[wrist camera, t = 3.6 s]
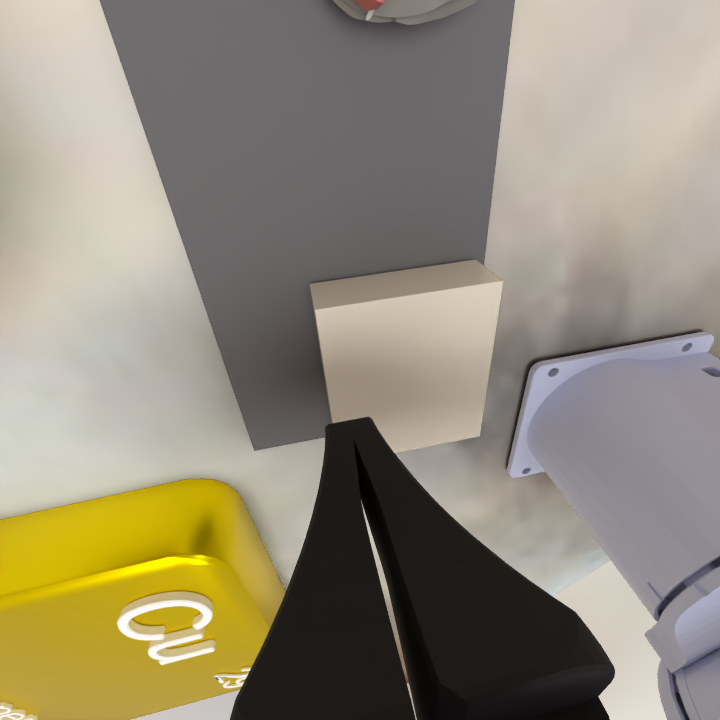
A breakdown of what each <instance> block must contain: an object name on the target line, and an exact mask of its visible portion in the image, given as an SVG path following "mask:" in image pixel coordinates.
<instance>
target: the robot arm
mask: <svg viewBox="0 0 720 720" xmlns="http://www.w3.org/2000/svg"><path fill="white" fill-rule="evenodd" d="M713 342H714V336H713V335H712V334H710V333H708V332H698V333H693V334H687V335H682V336H676V337H671V338H665V339H660V340H655V341H649V342H644V343H638V344H633V345H627V346H622V347H616V348H611V349H605V350H600V351H594V352H589V353H583V354H578V355H573V356H567V357H562V358H556V359H551V360H545V361H540V362H537V363H536V364H534V365H533V366H532V367H531V369H530V371H529V375H528V379H527V383H526V388H525V392H524V397H523V401H522V405H521V410H520V414H519V419H518V423H517V427H516V432H515V436H514V441H513V445H512V449H511V454H510V458H509V463H508V467H507V472H508V474H509V476H510V477H512V478H518V477H523V476H527V475H532V474H536V473H541V472H546V473H547V475H548V476H549V477H550V479H551V480H552V481H553V483H554V484H555V485H556V487H557V488H558V489H559V491H560V492H561V493H562V495H563V496H564V498H565V499H566V500H567V502H568V503H569V504H570V506H571V507H572V508H573V510H574V511H575V512H576V514H577V515H578V516H579V518H580V519H581V520H582V522H583V523H584V525H585V526H586V527H587V529H588V530H589V531H590V533H591V534H592V535H593V537H594V538H595V539H596V541H597V542H598V543H599V545H600V546H601V547H602V549H603V550H604V552H605V553H606V554H607V556H608V557H609V558H610V560H611V561H612V562H613V563H614V565H615V566H616V568H617V569H618V570H619V572H620V573H621V574H622V576H623V577H624V579H625V580H626V581H627V582H628V584H629V585H630V587H631V588H632V589H633V591H634V592H635V593H636V594H637V596H638V597H639V599H640V600H641V601H642V603H643V604H644V606H645V607H646V608H647V609H648V611H649V612H650V614H651V615H652V616H653V618H654V619H655V620H656V621H658V622H657V623H656V625H654V626H653V627H652V628H651V629H650V630H648V631H647V632H646V633H645V637H646V638H647V640H648V641H649V642H650V644H651V645H652V647H653V648H654V650H655V651H656V652H657V654H658V655H659V657H660V658H661V661H660V663H659V668H658V688H659V693H660V697H661V702H662V705H663V708H664V711H665V715H666V718H667V720H720V359H719V358H717V357H715V356H713V355H712V354H710V353H708V351H709V349H710V348H711V346H712V344H713ZM551 369H552V370H551ZM361 500H362V503H361ZM362 504H363V507H364V510H365V513H366V516H367V520H368V523H369V526H370V529H371V532H372V536H373V539H374V542H375V545H376V548H377V551H378V555H379V558H380V561H381V564H382V567H383V571H384V574H385V578H386V582H387V585H388V590H389V594H390V599H391V603H392V607H393V612H394V616H395V621H396V625H397V630H398V634H399V639H400V643H401V648H402V652H403V657H404V662H405V666H406V671H407V675H408V680H409V685H410V689H411V693H412V698H413V703H414V708H415V713H416V717H417V720H610V719H609V716H608V714H607V712H606V710H605V708H604V707H603V705H602V703H601V701H600V699H599V697H598V696H599V695H600V694H601V693H602V692H603V690H604V689H605V688H606V687H607V686H608V685H609V684H610V683H611V681H612V680H613V678H614V675H615V669H614V666H613V664H612V663H611V661H610V660H609V658H608V656H607V654H606V653H605V651H604V650H603V648H602V646H601V645H600V644H599V642H598V641H597V639H596V638H595V637H594V635H593V634H592V633H591V631H590V630H589V629H588V627H587V626H586V625H585V623H584V622H583V621H582V620H581V618H580V617H579V616H578V615H577V613H576V612H575V611H573V610H572V609H570V608H569V607H567V606H566V605H564V604H563V603H561V602H560V601H558V600H557V599H555V598H554V597H552V596H551V595H549V594H548V593H547V592H545V591H544V590H542V589H541V588H539V587H538V586H537V585H535V584H534V583H532V582H531V581H530V580H528V579H527V578H526V577H524V576H523V575H521V574H520V573H519V572H517V571H516V570H515V569H513V568H512V567H511V566H509V565H508V564H507V563H505V562H504V561H503V560H502V559H501V558H499V557H498V556H497V555H496V554H494V553H493V552H492V551H491V550H489V549H488V548H487V547H486V546H485V545H483V544H482V543H481V542H480V541H478V540H477V539H476V538H475V537H474V536H472V535H471V534H470V533H469V532H468V531H467V530H466V529H465V528H463V527H462V526H461V525H460V524H459V523H458V522H457V521H456V520H455V519H454V518H453V517H452V516H450V515H449V514H448V513H447V512H446V511H445V510H444V509H443V508H442V507H441V506H440V505H439V504H438V503H437V502H436V501H435V500H434V499H433V498H432V497H431V496H430V495H429V493H428V492H427V491H426V490H425V489H424V488H423V487H422V486H421V485H420V484H419V482H418V481H417V480H416V479H415V478H414V477H413V476H412V474H411V473H410V472H409V471H408V470H407V468H406V467H405V466H404V465H403V463H402V462H401V461H400V460H399V458H398V457H397V456H396V454H395V453H394V452H393V451H392V449H391V448H390V446H389V445H388V444H387V442H386V441H385V439H384V438H383V436H382V435H381V433H380V432H379V430H378V428H377V427H376V425H375V423H374V421H373V419H372V418H370V417H363V418H358V419H353V420H347V421H342V422H337V423H332V424H328V425H327V426H326V427H325V452H324V461H323V467H322V473H321V479H320V484H319V489H318V494H317V498H316V502H315V506H314V510H313V514H312V518H311V521H310V525H309V528H308V531H307V535H306V538H305V541H304V544H303V547H302V550H301V553H300V556H299V559H298V561H297V564H296V567H295V570H294V572H293V575H292V578H291V580H290V583H289V586H288V588H287V591H286V593H285V595H284V598H283V600H282V602H281V605H280V607H279V609H278V612H277V614H276V616H275V618H274V621H273V623H272V625H271V628H270V630H269V632H268V634H267V637H266V639H265V641H264V643H263V645H262V647H261V649H260V651H259V653H258V655H257V657H256V659H255V661H254V663H253V665H252V667H251V669H250V671H249V673H248V675H247V677H246V679H245V681H244V683H243V685H242V687H241V689H240V692H239V694H238V695H237V697H236V700H235V703H234V707H233V710H232V714H231V718H230V720H416V719H415V715H414V711H413V706H412V702H411V698H410V695H409V691H408V687H407V683H406V680H405V676H404V672H403V669H402V665H401V661H400V657H399V653H398V650H397V646H396V642H395V638H394V634H393V631H392V627H391V623H390V619H389V615H388V611H387V607H386V603H385V599H384V595H383V592H382V588H381V584H380V580H379V576H378V572H377V568H376V564H375V559H374V555H373V551H372V547H371V543H370V539H369V535H368V531H367V527H366V522H365V518H364V514H363V509H362Z"/></svg>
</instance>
